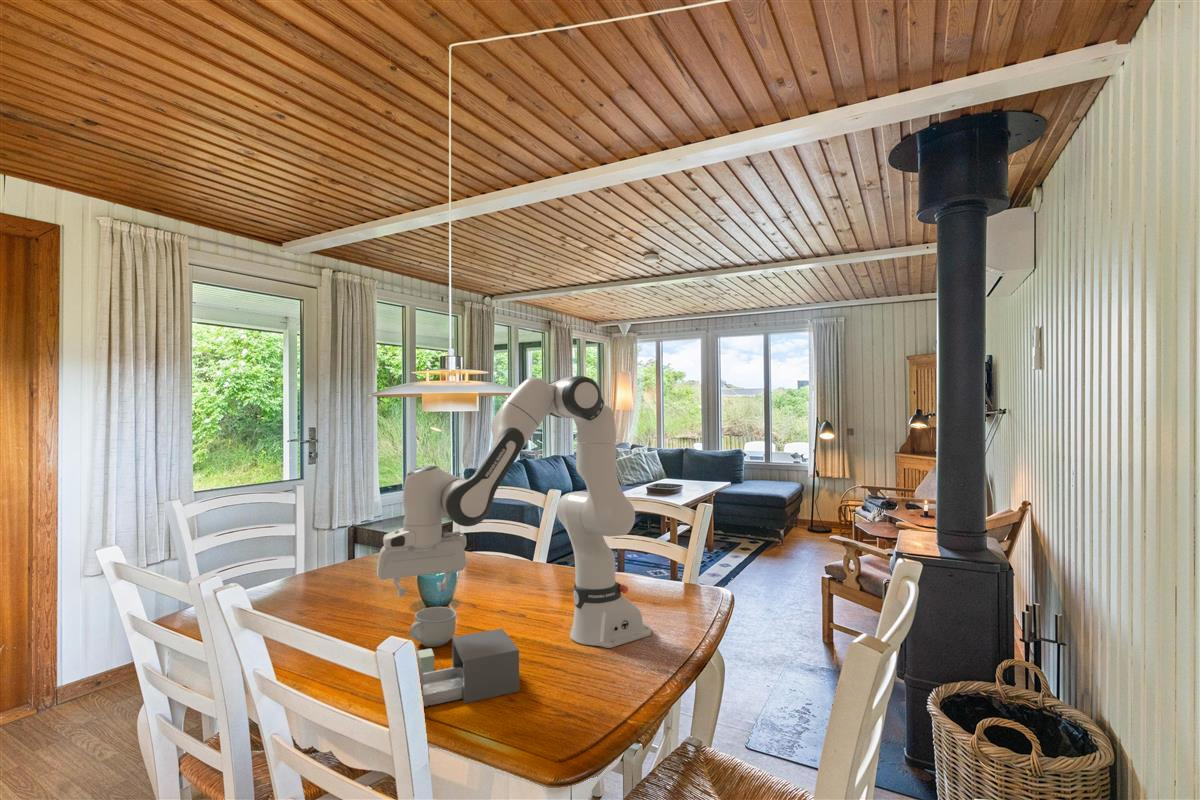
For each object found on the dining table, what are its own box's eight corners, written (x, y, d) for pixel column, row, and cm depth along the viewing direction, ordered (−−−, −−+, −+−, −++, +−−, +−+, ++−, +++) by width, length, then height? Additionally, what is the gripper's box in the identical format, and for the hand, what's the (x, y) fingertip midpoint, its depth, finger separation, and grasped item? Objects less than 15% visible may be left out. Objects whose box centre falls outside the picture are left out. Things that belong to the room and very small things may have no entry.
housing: (502, 665, 137) (502, 628, 137) (519, 691, 124) (519, 650, 124) (452, 675, 132) (452, 636, 132) (464, 703, 119) (464, 660, 119)
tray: (463, 673, 132) (463, 637, 132) (474, 697, 121) (474, 657, 121) (410, 684, 127) (410, 646, 127) (417, 710, 116) (416, 668, 116)
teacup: (441, 631, 159) (440, 603, 159) (464, 641, 152) (464, 611, 152) (395, 648, 148) (395, 617, 148) (419, 659, 141) (419, 626, 141)
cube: (431, 667, 137) (431, 648, 137) (434, 674, 133) (434, 655, 133) (412, 670, 135) (412, 651, 135) (414, 678, 131) (414, 659, 131)
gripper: (463, 528, 142) (463, 583, 141) (376, 536, 133) (376, 595, 133) (469, 533, 136) (469, 590, 136) (378, 541, 128) (378, 603, 127)
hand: (422, 593), depth 134 cm, fingers open, 8 cm apart
